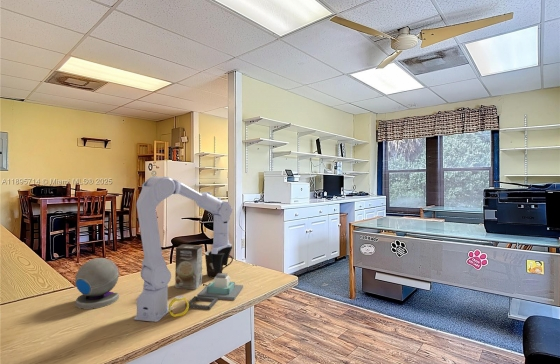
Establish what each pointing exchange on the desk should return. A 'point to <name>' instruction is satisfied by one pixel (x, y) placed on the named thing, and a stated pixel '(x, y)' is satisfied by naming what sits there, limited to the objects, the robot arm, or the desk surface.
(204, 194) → the robot arm
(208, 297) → the tray
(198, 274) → the coffee box
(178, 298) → the watch
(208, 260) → the coffee mug
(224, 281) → the plug
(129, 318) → the desk surface
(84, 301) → the webcam
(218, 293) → the dock
